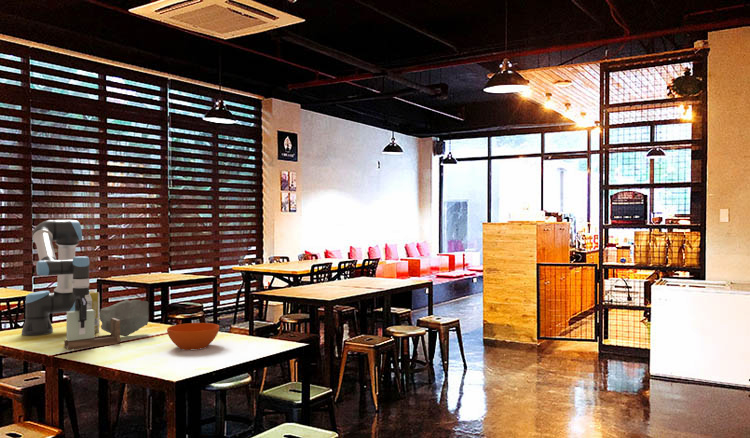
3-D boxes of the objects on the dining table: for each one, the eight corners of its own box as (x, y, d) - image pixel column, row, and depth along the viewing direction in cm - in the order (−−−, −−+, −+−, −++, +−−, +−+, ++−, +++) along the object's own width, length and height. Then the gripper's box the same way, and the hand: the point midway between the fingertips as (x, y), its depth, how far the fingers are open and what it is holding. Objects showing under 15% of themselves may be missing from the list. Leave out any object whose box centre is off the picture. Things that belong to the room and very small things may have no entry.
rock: (102, 340, 307) (102, 303, 307) (97, 339, 311) (97, 301, 311) (151, 333, 326) (151, 298, 327) (145, 332, 331) (146, 297, 331)
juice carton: (101, 332, 331) (101, 290, 331) (88, 334, 325) (88, 291, 325) (91, 330, 336) (92, 289, 336) (78, 332, 330) (78, 290, 330)
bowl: (204, 339, 310) (204, 321, 310) (228, 347, 292) (228, 327, 292) (158, 346, 293) (158, 327, 293) (181, 355, 275) (181, 333, 275)
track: (63, 346, 292) (64, 322, 293) (113, 340, 308) (113, 317, 308) (69, 350, 285) (69, 325, 285) (120, 343, 301) (120, 320, 301)
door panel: (66, 339, 291) (66, 311, 291) (92, 336, 298) (92, 309, 299) (68, 341, 288) (68, 312, 288) (94, 337, 295) (94, 310, 296)
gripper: (68, 286, 297) (68, 332, 297) (77, 289, 284) (77, 337, 284) (84, 285, 302) (84, 330, 302) (93, 288, 289) (93, 335, 289)
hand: (80, 333), depth 293 cm, fingers closed on door panel, 4 cm apart
